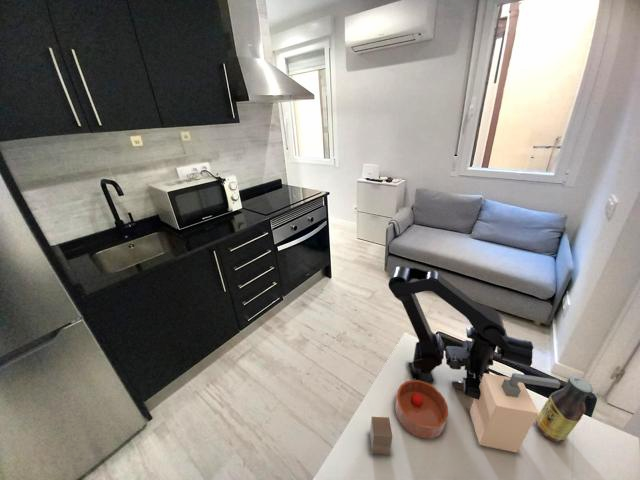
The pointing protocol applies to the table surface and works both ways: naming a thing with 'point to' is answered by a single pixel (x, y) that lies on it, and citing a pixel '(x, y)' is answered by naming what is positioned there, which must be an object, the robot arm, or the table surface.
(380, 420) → the wooden stand
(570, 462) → the table surface
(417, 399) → the tomato
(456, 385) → the brown bumpy bar
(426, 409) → the bowl
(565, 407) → the sauce bottle
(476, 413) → the soap dispenser
